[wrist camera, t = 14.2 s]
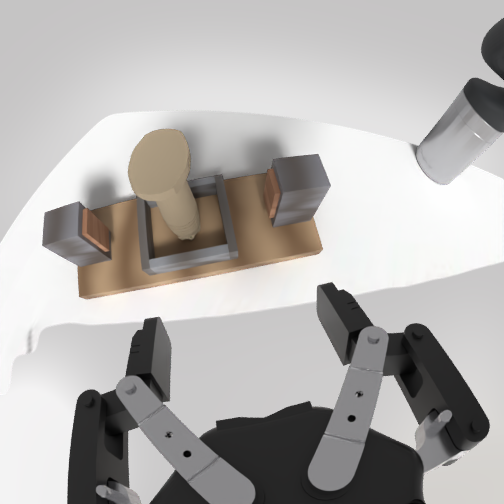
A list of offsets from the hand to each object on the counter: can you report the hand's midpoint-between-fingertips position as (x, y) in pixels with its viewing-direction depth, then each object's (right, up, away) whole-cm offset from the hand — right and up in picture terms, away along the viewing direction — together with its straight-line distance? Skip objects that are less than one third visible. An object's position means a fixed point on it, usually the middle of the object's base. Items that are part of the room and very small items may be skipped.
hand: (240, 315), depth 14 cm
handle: (-7, +6, +21) cm, 23 cm away
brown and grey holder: (-8, +5, +23) cm, 25 cm away
